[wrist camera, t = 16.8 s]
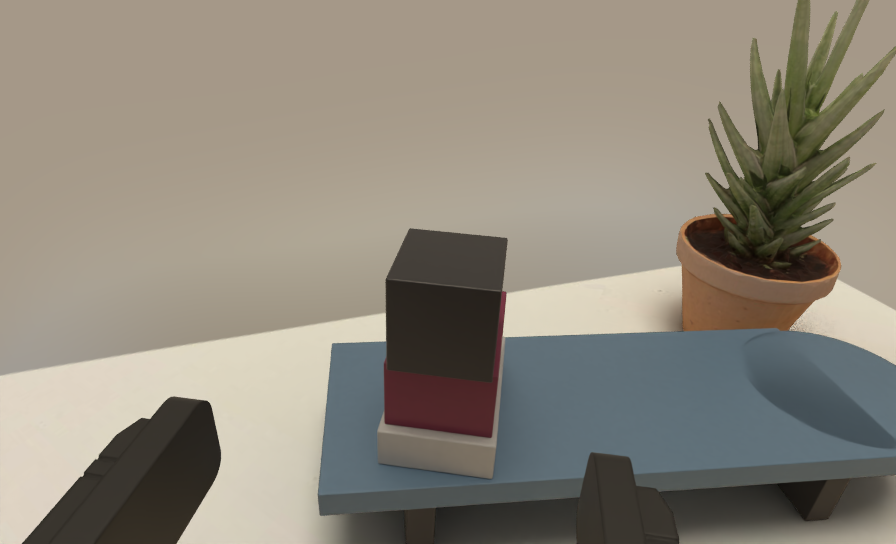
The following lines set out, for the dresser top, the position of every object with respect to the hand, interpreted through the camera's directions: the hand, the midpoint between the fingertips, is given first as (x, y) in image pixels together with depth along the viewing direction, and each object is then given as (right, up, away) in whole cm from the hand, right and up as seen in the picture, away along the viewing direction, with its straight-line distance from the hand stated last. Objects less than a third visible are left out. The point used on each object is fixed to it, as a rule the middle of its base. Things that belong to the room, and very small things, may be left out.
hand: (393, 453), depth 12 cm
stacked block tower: (+1, -2, +14) cm, 14 cm away
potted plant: (+21, -1, +29) cm, 36 cm away
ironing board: (+10, -6, +18) cm, 21 cm away
